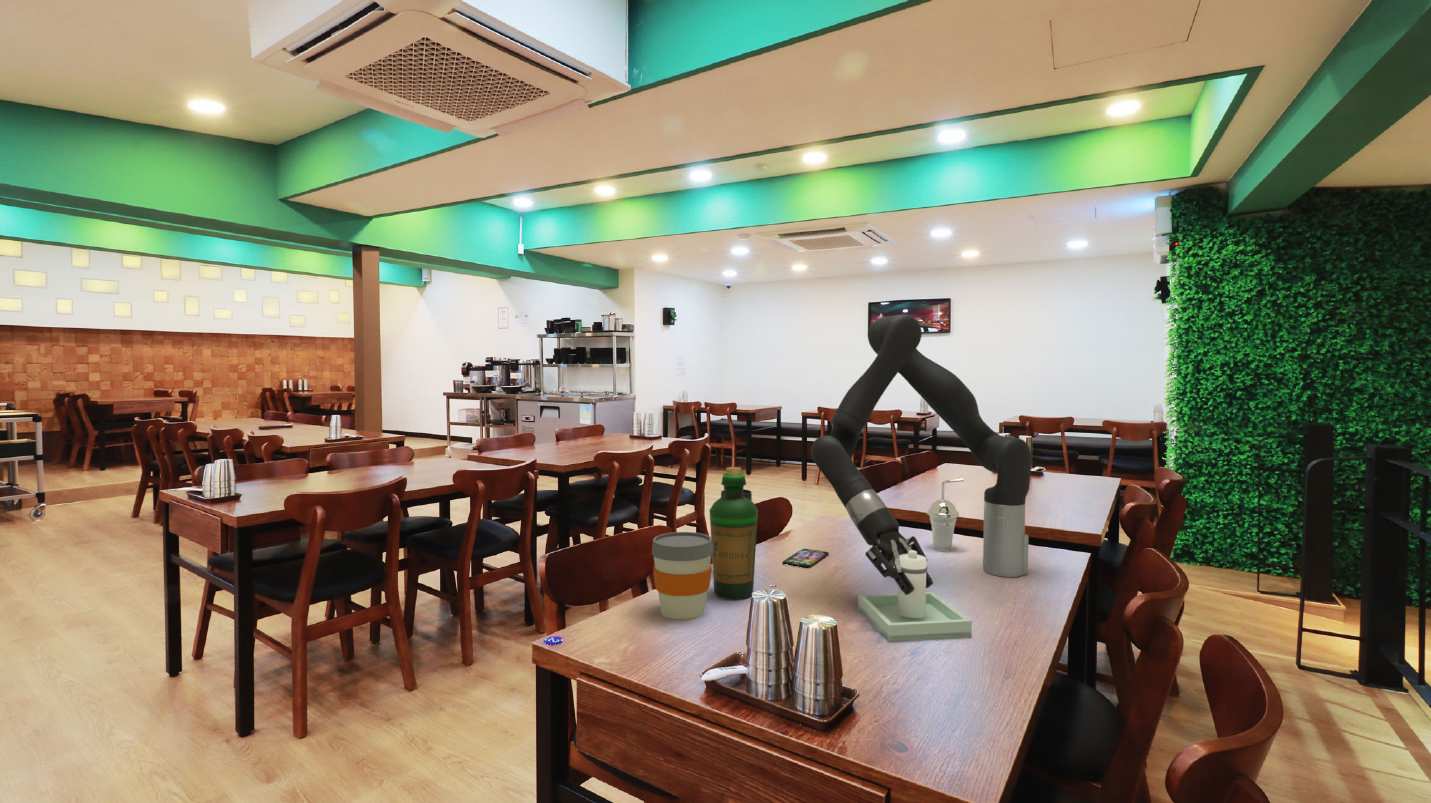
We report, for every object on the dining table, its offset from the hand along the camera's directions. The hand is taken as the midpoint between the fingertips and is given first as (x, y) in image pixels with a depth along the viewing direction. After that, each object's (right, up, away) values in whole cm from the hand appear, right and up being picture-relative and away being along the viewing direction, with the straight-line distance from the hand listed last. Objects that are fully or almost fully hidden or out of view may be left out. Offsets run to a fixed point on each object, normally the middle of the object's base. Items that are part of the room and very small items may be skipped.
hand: (920, 589), depth 126 cm
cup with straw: (+23, -5, +54) cm, 59 cm away
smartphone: (-16, -6, +45) cm, 48 cm away
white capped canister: (-1, -5, +2) cm, 6 cm away
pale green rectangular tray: (-1, -7, +2) cm, 7 cm away
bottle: (-35, -7, +18) cm, 40 cm away
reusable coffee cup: (-46, -7, +8) cm, 47 cm away
